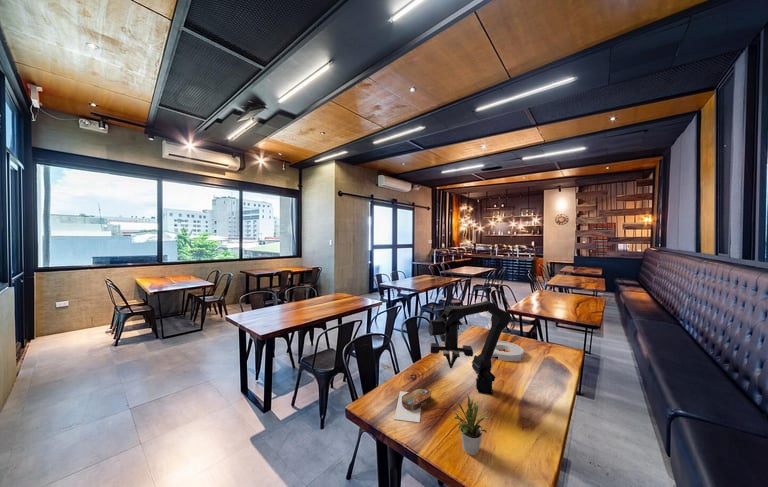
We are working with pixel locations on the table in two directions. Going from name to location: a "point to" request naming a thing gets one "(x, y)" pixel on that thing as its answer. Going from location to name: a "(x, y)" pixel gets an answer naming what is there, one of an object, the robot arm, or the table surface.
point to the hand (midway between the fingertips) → (450, 367)
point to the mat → (406, 412)
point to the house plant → (470, 428)
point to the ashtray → (513, 355)
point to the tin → (416, 398)
